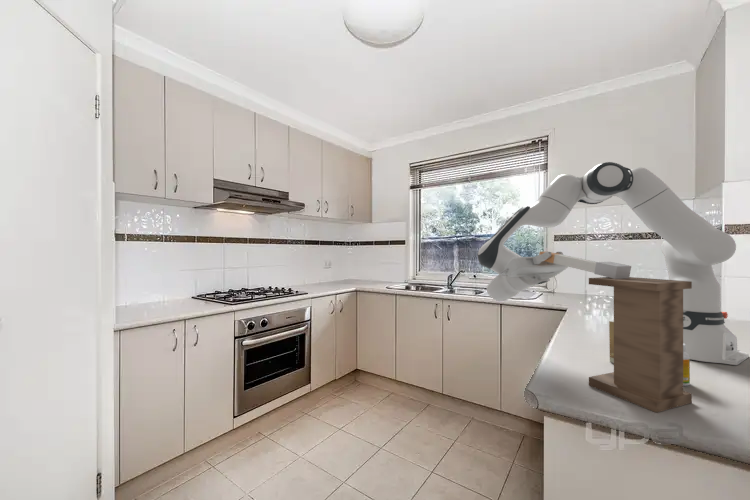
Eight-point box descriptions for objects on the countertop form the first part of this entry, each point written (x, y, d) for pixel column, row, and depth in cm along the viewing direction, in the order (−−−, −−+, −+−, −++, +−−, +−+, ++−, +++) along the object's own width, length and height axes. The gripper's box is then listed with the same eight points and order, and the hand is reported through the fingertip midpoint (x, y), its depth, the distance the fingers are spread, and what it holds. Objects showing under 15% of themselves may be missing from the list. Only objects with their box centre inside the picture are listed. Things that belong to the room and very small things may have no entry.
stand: (621, 378, 82) (621, 276, 82) (691, 402, 69) (691, 281, 69) (588, 385, 78) (588, 277, 78) (656, 412, 65) (656, 283, 65)
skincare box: (623, 359, 96) (623, 318, 96) (639, 364, 92) (639, 321, 92) (608, 362, 94) (608, 320, 94) (623, 367, 90) (623, 323, 90)
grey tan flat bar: (548, 259, 98) (549, 249, 98) (629, 278, 77) (631, 265, 77) (536, 259, 97) (537, 249, 96) (615, 278, 75) (617, 266, 75)
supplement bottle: (695, 387, 77) (695, 346, 77) (669, 385, 78) (669, 345, 78) (679, 378, 82) (679, 340, 82) (655, 376, 83) (655, 339, 83)
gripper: (494, 266, 102) (523, 244, 91) (542, 265, 109) (575, 244, 98) (501, 284, 99) (532, 264, 88) (550, 282, 106) (585, 262, 95)
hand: (555, 253), depth 93 cm, fingers closed on grey tan flat bar, 3 cm apart
